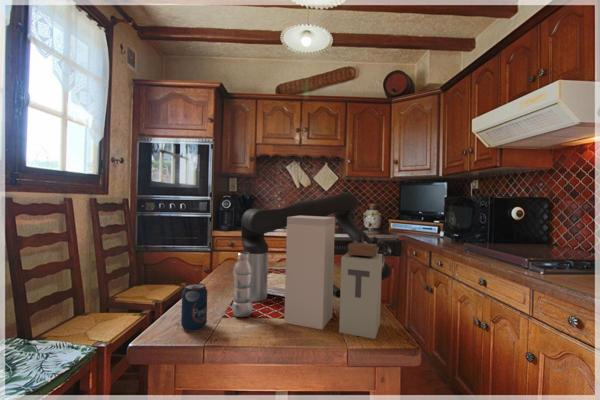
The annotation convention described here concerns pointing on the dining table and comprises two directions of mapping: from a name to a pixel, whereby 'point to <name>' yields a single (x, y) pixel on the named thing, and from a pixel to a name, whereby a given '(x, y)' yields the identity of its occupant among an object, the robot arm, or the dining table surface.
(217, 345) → the dining table surface
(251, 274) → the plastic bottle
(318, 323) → the cream stand
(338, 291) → the door handle
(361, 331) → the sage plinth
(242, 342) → the dining table surface
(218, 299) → the dining table surface
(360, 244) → the walnut paddle
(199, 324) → the soda can
